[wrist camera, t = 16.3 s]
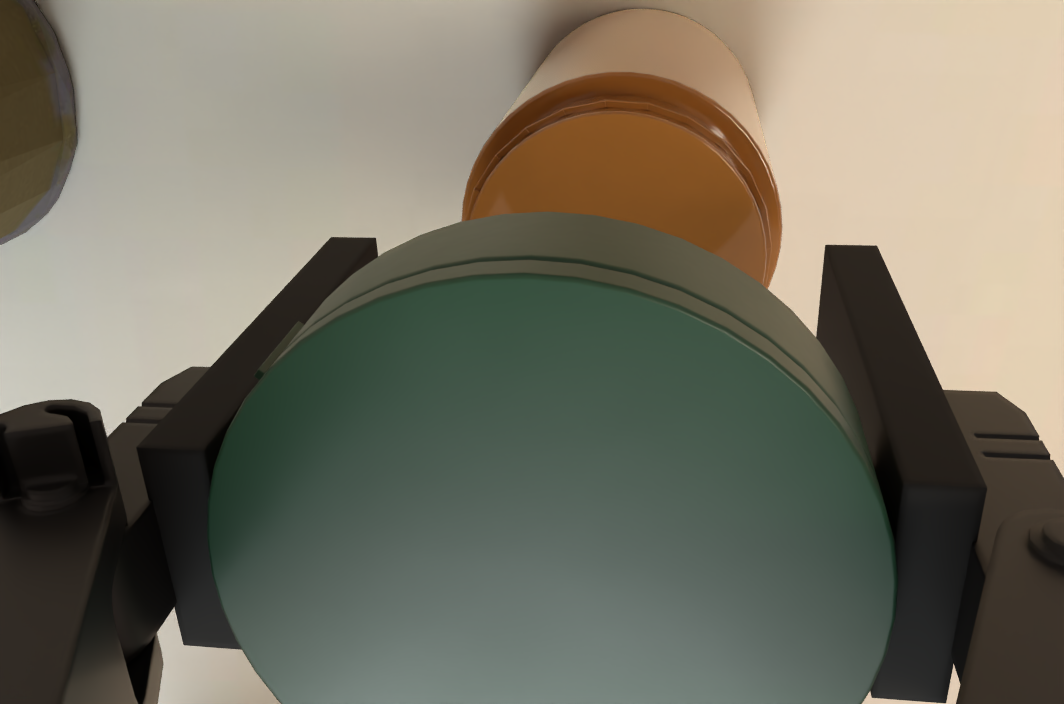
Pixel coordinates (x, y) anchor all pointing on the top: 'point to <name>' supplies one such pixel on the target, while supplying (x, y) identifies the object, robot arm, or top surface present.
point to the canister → (32, 118)
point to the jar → (639, 140)
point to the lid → (552, 484)
